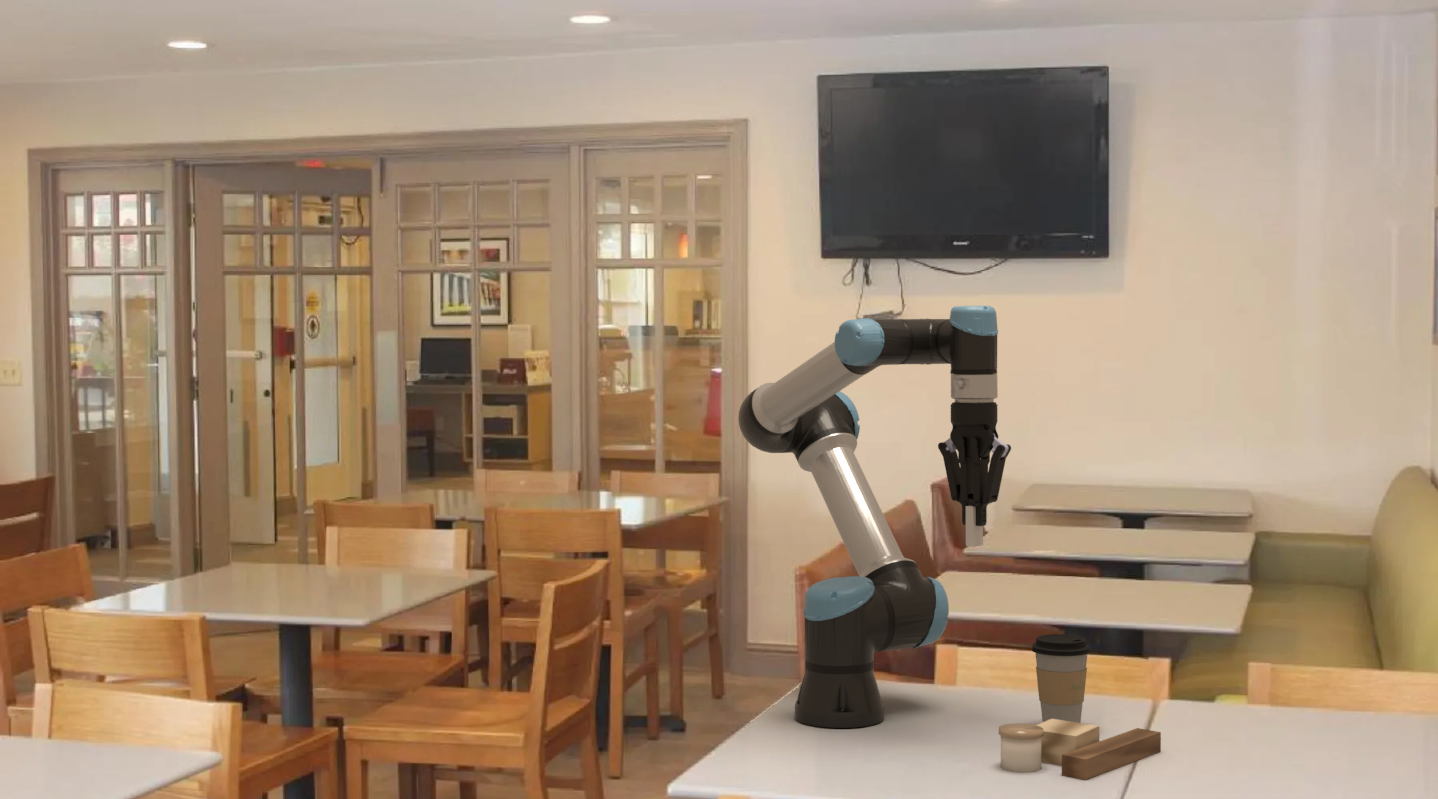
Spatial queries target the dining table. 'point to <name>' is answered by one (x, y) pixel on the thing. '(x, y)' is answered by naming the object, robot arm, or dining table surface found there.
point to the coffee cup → (1061, 675)
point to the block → (1065, 738)
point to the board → (1110, 753)
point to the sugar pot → (1021, 747)
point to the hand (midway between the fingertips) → (974, 545)
